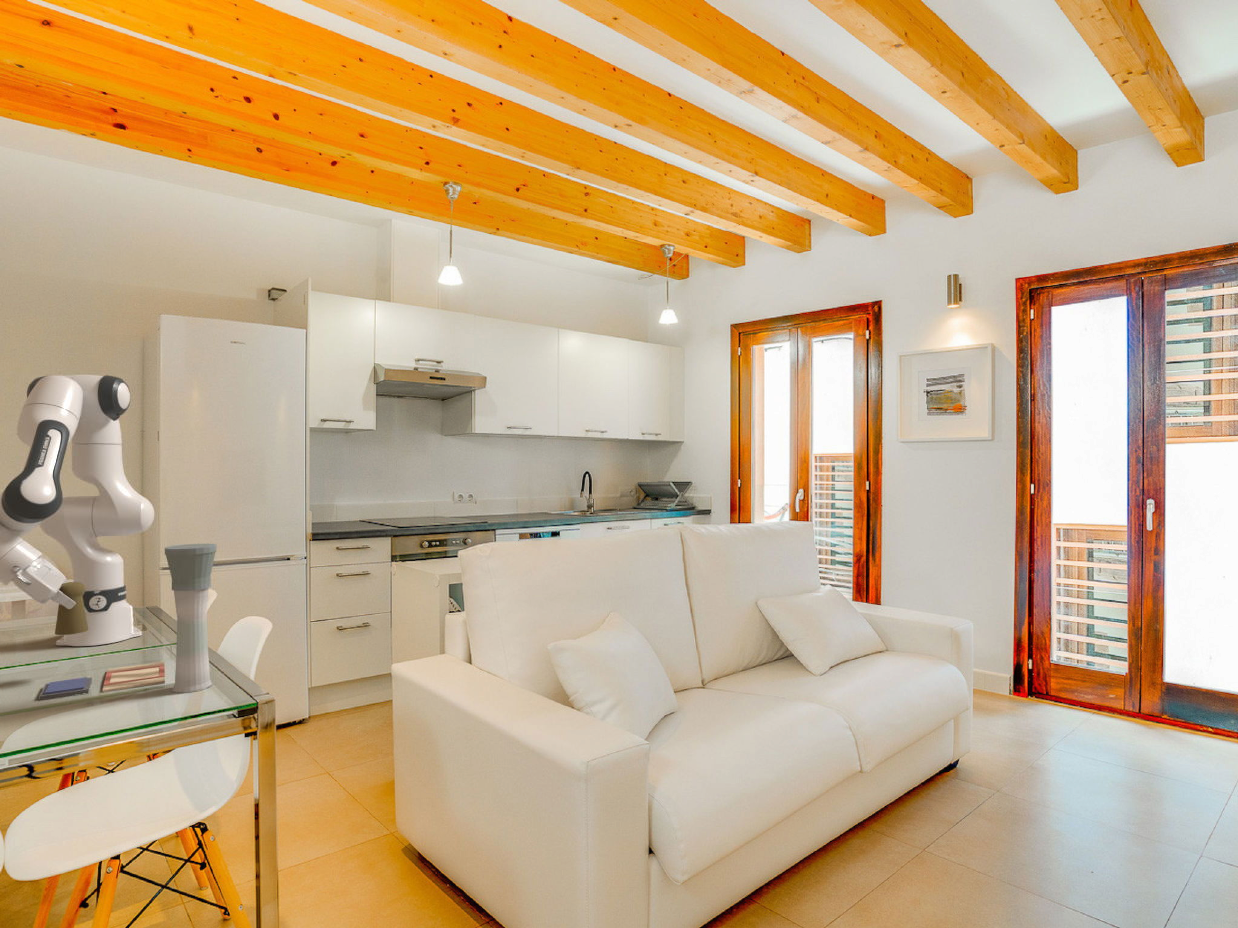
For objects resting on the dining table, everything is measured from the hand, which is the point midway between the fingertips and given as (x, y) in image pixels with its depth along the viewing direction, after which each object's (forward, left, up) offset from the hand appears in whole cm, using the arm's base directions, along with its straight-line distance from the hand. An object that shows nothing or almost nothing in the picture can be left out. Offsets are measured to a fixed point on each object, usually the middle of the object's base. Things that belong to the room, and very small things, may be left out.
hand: (74, 603), depth 162 cm
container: (+24, +22, -16) cm, 37 cm away
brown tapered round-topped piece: (0, -1, -6) cm, 6 cm away
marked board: (+8, +11, -16) cm, 21 cm away
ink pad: (+11, -1, -16) cm, 20 cm away
